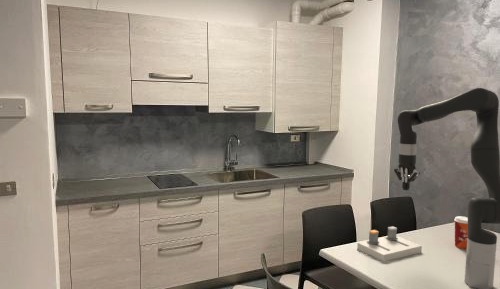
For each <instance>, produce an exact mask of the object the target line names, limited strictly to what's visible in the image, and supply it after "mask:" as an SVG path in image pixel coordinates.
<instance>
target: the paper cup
mask: <svg viewBox="0 0 500 289" xmlns="http://www.w3.org/2000/svg"><path fill="white" fill-rule="evenodd" d="M467 239H468V216H467V217H466V216H462V215H461V216H459V215H458V216H455V217H454V246H455V247H456V248H458V249H463V250H467Z"/></svg>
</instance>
